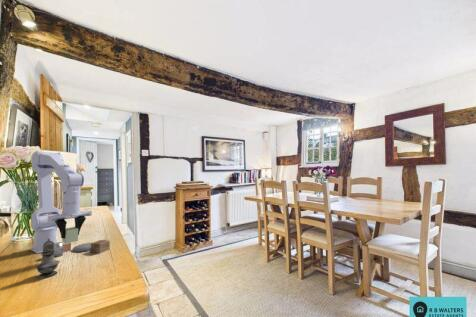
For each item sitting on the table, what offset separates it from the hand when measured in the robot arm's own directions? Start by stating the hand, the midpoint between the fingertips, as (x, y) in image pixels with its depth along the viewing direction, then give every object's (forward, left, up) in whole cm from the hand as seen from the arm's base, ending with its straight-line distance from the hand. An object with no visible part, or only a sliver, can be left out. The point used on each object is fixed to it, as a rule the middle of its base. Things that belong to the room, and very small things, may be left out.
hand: (70, 236), depth 90 cm
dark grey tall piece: (+12, -10, -9) cm, 18 cm away
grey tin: (-7, -2, -8) cm, 11 cm away
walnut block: (+2, +11, -9) cm, 14 cm away
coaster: (-7, +9, -8) cm, 14 cm away
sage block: (0, 0, -2) cm, 2 cm away
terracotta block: (-12, +1, -9) cm, 15 cm away
